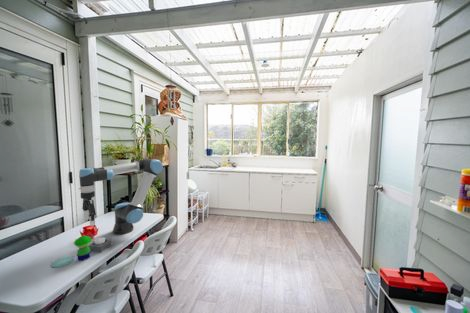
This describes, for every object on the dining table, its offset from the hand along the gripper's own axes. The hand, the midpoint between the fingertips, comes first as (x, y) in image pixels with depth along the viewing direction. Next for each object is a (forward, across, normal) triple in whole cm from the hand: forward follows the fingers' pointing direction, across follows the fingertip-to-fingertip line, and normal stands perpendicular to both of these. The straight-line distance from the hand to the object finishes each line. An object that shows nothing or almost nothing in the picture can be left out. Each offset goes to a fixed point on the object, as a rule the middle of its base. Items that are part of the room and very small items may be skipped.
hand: (89, 222), depth 131 cm
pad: (+20, +3, -15) cm, 25 cm away
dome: (+17, +1, +5) cm, 18 cm away
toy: (+20, +8, -6) cm, 22 cm away
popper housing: (+20, +1, +5) cm, 21 cm away
